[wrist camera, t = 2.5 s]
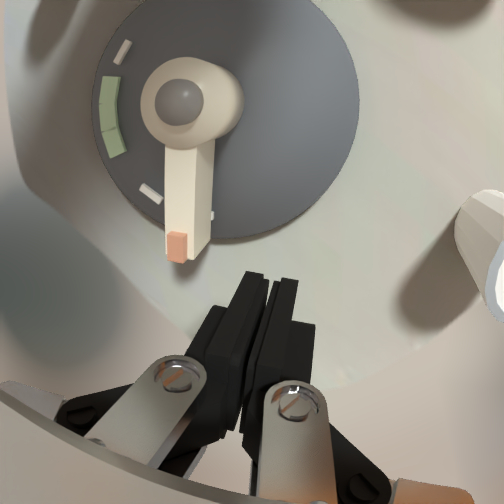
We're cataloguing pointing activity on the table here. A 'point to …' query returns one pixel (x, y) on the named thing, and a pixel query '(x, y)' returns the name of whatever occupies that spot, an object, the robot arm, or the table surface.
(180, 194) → the lever
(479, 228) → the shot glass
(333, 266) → the table surface
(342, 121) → the dial
